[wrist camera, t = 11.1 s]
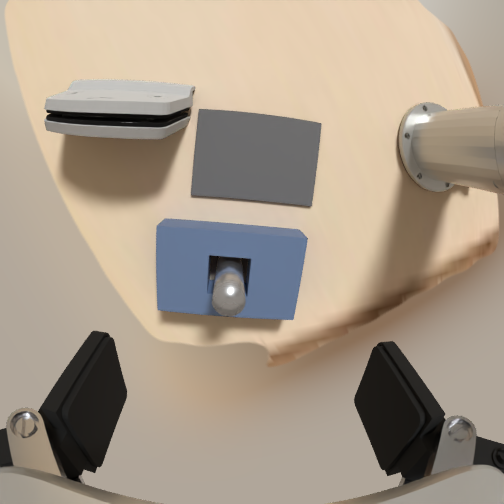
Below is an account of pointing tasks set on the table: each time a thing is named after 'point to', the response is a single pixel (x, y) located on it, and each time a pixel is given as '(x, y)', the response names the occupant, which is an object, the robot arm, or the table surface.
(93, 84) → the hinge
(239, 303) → the peg
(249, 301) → the hole block
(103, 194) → the table surface
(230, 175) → the mat
